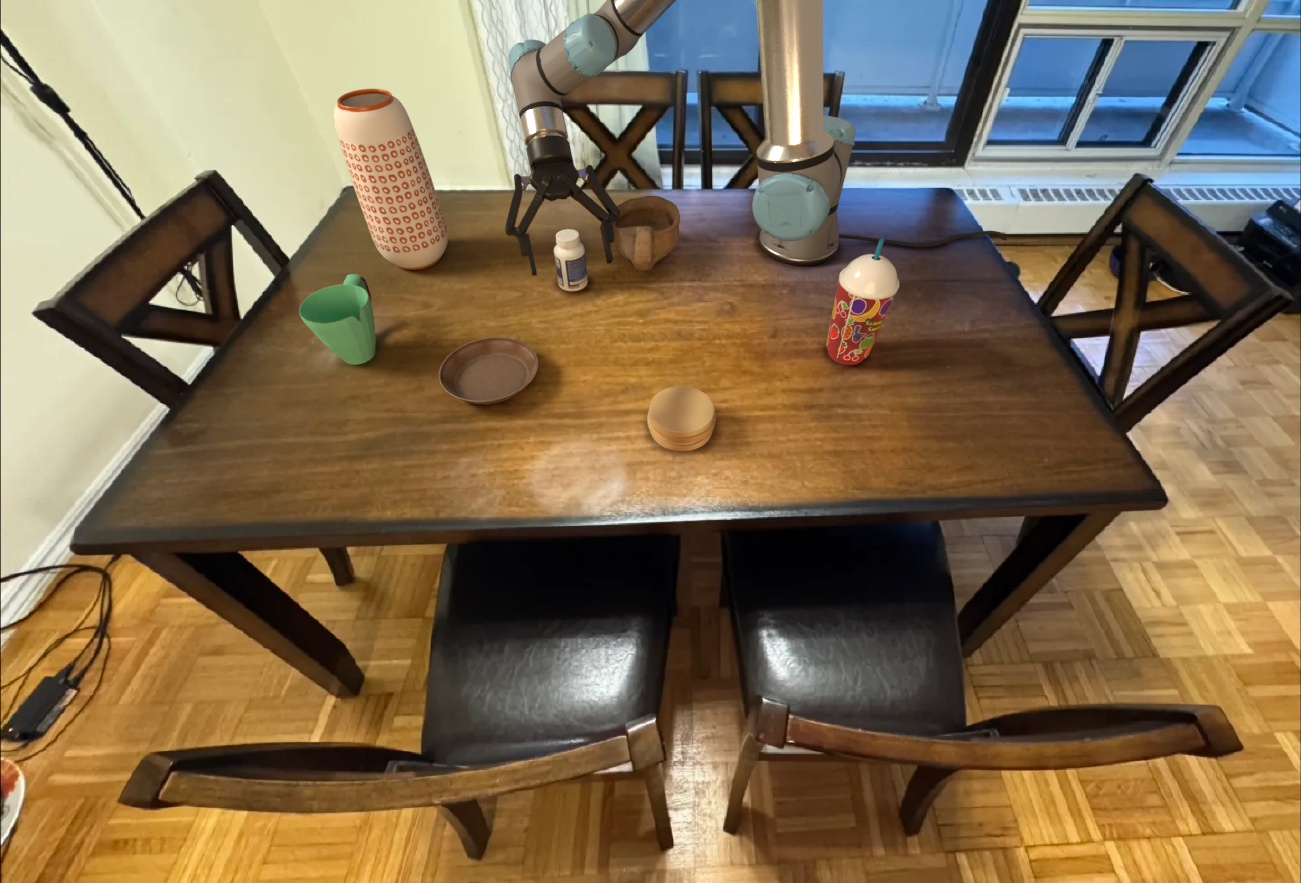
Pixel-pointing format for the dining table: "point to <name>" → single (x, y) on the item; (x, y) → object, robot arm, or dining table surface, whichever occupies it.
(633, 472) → the dining table surface
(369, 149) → the patterned vase
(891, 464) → the dining table surface
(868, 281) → the smoothie
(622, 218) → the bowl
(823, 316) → the dining table surface
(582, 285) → the pill bottle
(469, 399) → the saucer
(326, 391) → the dining table surface
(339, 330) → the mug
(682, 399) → the coaster stack
